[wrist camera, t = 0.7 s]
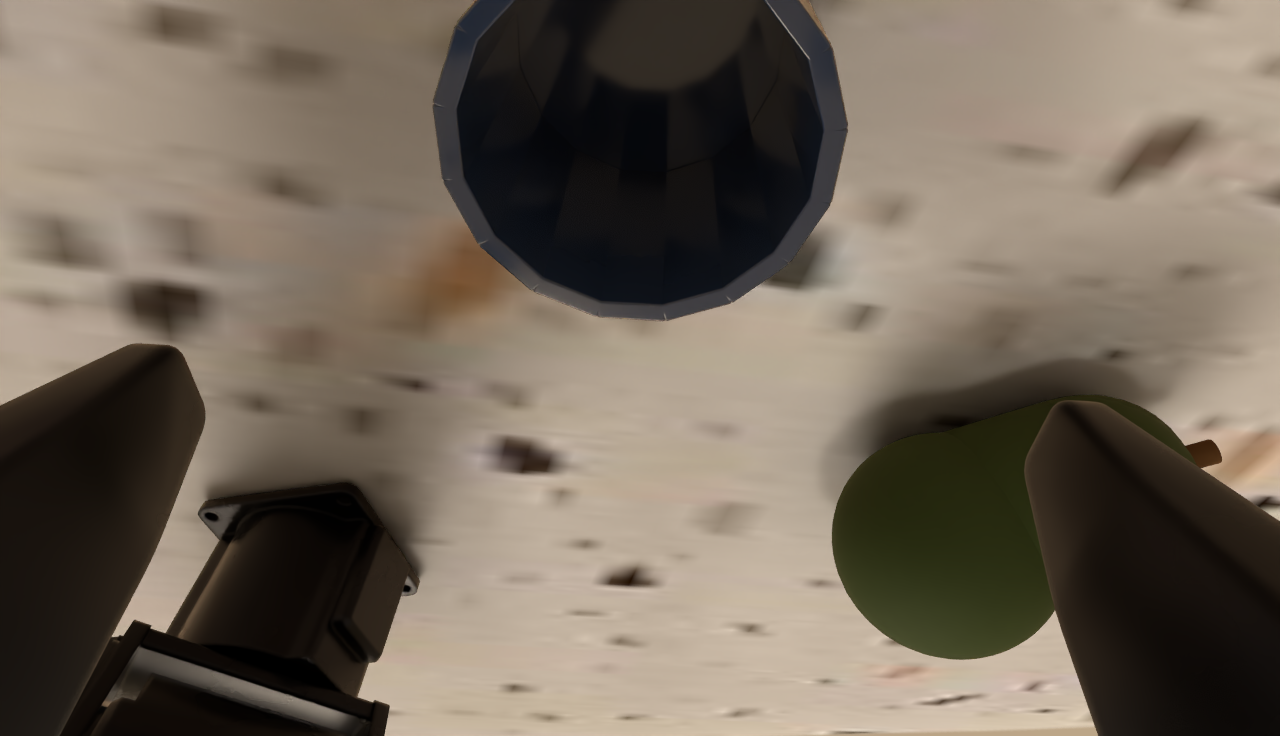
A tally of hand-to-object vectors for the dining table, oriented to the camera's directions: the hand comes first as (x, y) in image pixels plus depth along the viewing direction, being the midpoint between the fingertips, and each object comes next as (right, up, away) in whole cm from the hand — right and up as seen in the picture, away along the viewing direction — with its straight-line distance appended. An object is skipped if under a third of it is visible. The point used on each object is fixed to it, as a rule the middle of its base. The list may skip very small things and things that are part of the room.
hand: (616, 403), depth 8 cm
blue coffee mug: (+1, +9, +9) cm, 13 cm away
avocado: (+12, -2, +18) cm, 21 cm away
